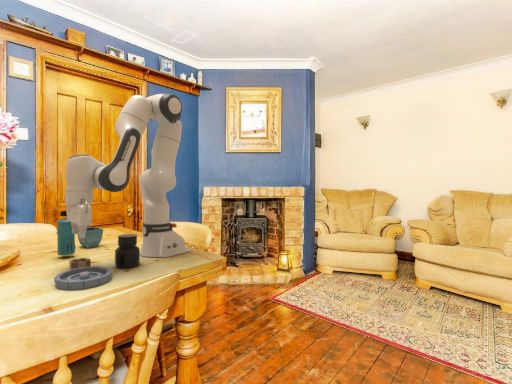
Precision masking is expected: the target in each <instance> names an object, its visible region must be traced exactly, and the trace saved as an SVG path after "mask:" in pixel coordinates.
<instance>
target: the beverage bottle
mask: <svg viewBox="0 0 512 384" xmlns="http://www.w3.org/2000/svg"><path fill="white" fill-rule="evenodd" d="M59 216H60V217H62V218H60V219H58V221H56V222H57V248H56V249H57V253H56V254H57V255H58V256H63V257H65V256H70V255H71V256H72V255H74V254H75V252H76V238H75V237H76V234H73V233H72V225H71V222H70V221H68V219H67V212H66V210H61V211H60V212H59ZM63 217H66V218H63Z"/></svg>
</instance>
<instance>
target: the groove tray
mask: <svg viewBox="0 0 512 384" xmlns="http://www.w3.org/2000/svg"><path fill="white" fill-rule="evenodd" d="M112 277H113V270H112V269H111V268H109V267H108V266H107V267H106V266H98V265H96V266H91V267H82V268H76V269H72V270H69V269H68V270H65V271H62V272H59V273H58V274H57V275H55V276H54V284H55V288H56V289H59V290H64V291H79V290H87V289H91V288H96V287H100V286H103V285H105V284H107V283H108V282H111V280H112Z"/></svg>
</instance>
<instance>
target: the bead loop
mask: <svg viewBox="0 0 512 384" xmlns="http://www.w3.org/2000/svg"><path fill="white" fill-rule="evenodd" d="M68 263H69V264H68V267H69V269H68V270H72V269H76V268H82V267H92V266H91V265H92V260H91V258H89V257H80V258H79V257H78V258H73V259H71V260H69V261H68Z"/></svg>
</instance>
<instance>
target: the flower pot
mask: <svg viewBox="0 0 512 384" xmlns="http://www.w3.org/2000/svg"><path fill="white" fill-rule="evenodd" d="M78 229H79V228H78ZM79 230H80V229H79ZM103 233H104V228H101V227H96V226H92V227H91V226H89V227H87V230H86V233H85V238H79V233H78V234H77V239H78V242H79V244H80V245H81V246H82V247H83V248H87V249H90V248H97V247H98V246H99V245H100V244H101V242H102V238H103V235H104V234H103Z"/></svg>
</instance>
